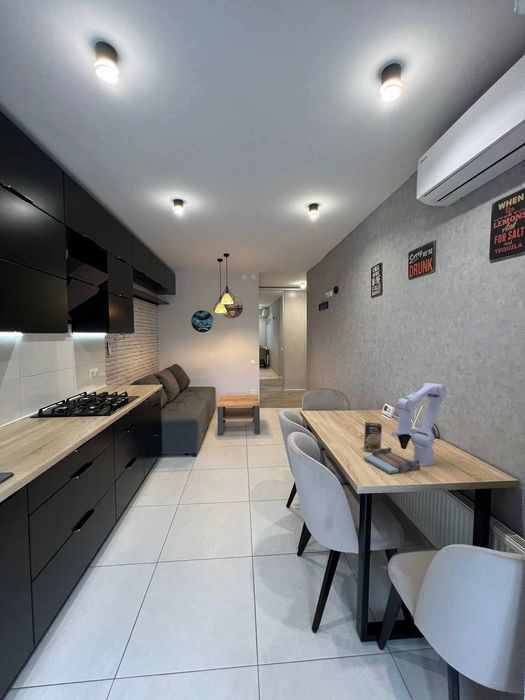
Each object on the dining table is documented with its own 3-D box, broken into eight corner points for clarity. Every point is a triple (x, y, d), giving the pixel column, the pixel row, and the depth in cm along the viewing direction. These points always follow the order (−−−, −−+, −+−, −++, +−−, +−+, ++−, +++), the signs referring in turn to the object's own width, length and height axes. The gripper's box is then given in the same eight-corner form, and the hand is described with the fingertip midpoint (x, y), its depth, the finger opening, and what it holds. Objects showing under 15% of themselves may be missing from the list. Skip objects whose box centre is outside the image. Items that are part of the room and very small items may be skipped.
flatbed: (390, 455, 170) (390, 447, 170) (419, 469, 152) (420, 460, 152) (372, 458, 166) (372, 450, 166) (400, 473, 147) (400, 464, 147)
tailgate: (372, 454, 165) (363, 456, 163) (399, 468, 147) (389, 470, 145) (372, 457, 165) (363, 458, 163) (399, 471, 147) (389, 473, 145)
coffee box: (364, 451, 175) (365, 424, 175) (363, 447, 181) (364, 421, 181) (381, 453, 173) (381, 426, 172) (379, 449, 179) (380, 423, 178)
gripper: (408, 419, 158) (407, 444, 159) (387, 421, 153) (386, 447, 154) (420, 422, 152) (419, 448, 152) (398, 425, 147) (397, 452, 147)
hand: (403, 448), depth 152 cm, fingers closed
